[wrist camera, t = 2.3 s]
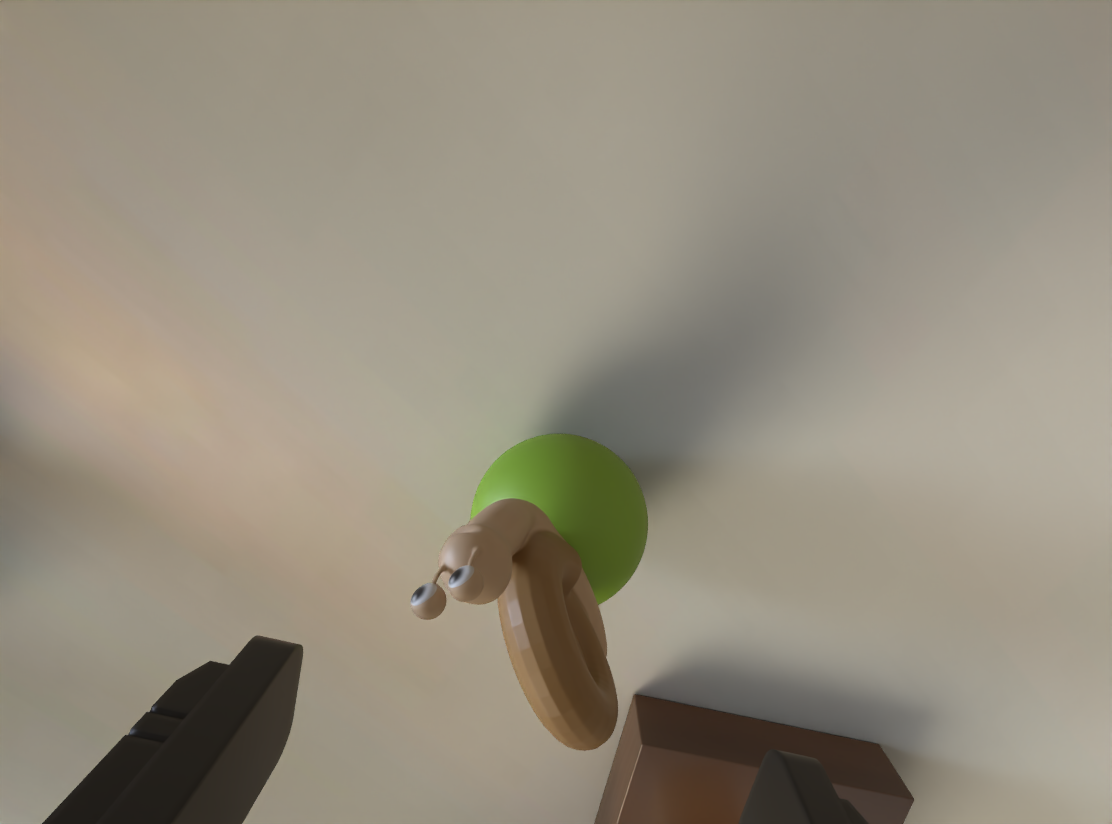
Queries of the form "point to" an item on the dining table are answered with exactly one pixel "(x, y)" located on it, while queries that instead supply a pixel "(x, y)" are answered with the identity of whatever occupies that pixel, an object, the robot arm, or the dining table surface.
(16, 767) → the dining table surface
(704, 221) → the dining table surface
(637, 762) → the dial panel
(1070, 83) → the dining table surface
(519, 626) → the snail figurine
